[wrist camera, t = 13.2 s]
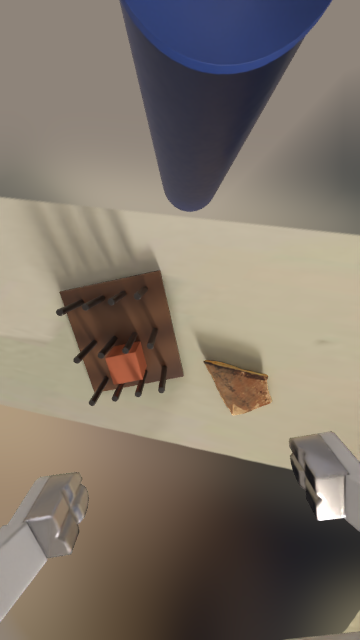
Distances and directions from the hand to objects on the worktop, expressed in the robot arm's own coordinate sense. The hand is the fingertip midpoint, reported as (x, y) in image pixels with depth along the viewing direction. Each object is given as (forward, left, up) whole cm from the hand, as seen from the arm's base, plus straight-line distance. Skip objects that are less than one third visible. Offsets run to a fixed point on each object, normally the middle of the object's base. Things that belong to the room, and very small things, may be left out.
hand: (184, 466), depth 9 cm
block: (+5, -9, -24) cm, 26 cm away
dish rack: (+2, -9, -25) cm, 27 cm away
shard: (+14, +5, -25) cm, 29 cm away
